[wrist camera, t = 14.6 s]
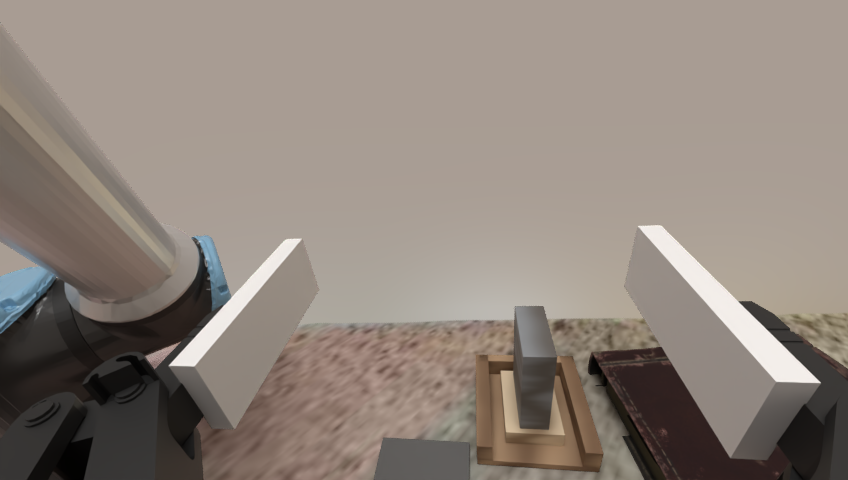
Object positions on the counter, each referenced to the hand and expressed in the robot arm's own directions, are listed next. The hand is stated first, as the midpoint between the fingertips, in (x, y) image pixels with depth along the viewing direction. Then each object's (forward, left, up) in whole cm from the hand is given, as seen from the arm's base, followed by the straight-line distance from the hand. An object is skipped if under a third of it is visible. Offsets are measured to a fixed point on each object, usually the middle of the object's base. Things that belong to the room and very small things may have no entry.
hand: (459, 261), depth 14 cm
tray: (+6, +15, -32) cm, 35 cm away
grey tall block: (+6, +15, -31) cm, 35 cm away
